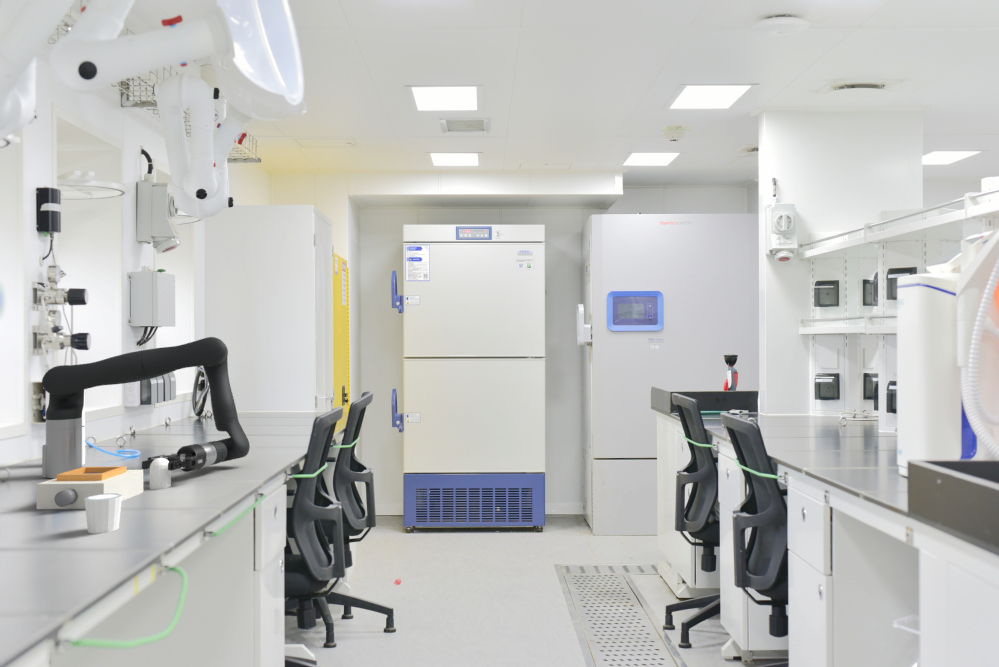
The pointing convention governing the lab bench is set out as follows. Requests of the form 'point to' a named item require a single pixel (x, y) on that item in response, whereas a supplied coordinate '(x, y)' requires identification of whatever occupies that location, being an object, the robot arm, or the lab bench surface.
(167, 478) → the capsule
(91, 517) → the white tapered cup
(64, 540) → the lab bench surface
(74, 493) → the plate
